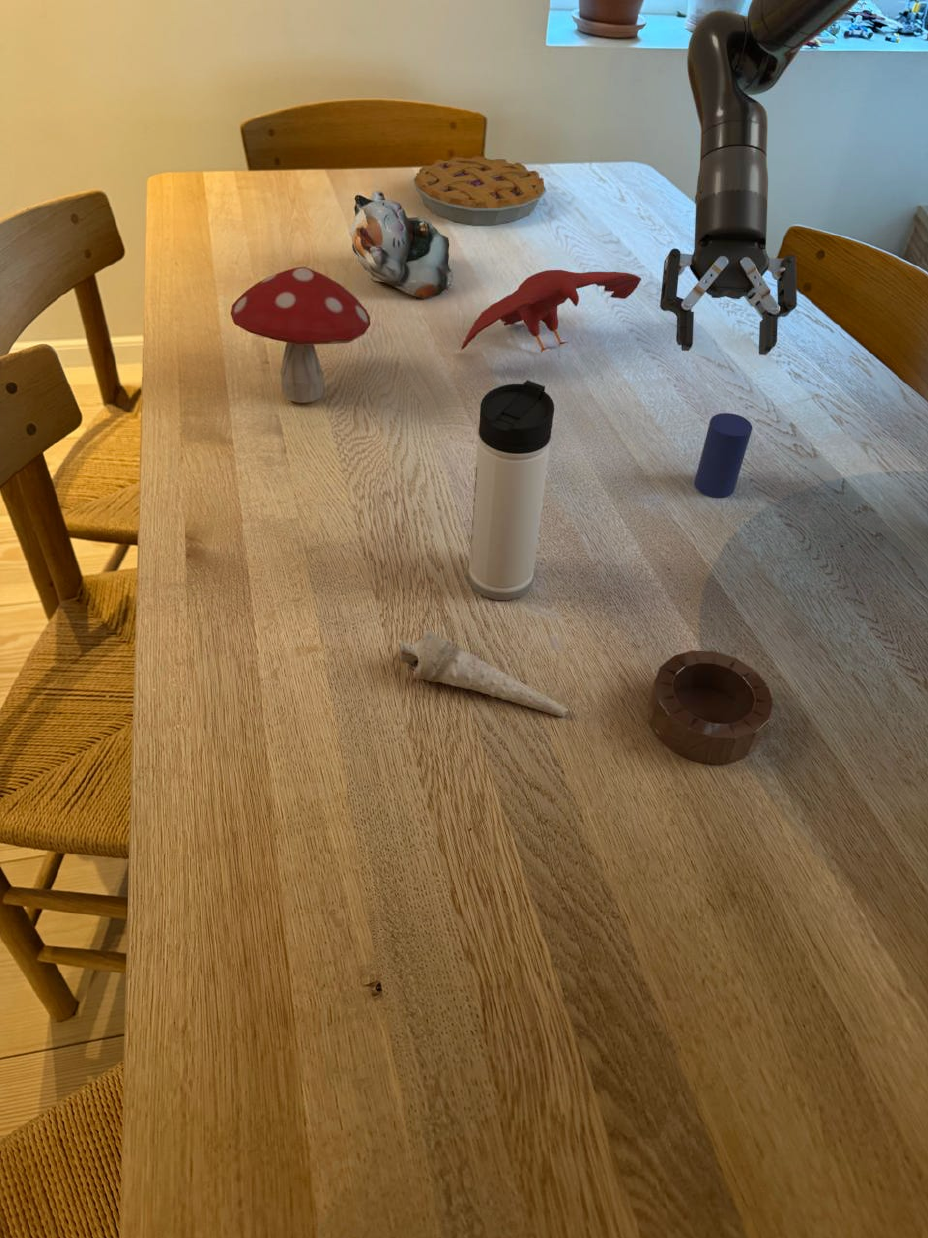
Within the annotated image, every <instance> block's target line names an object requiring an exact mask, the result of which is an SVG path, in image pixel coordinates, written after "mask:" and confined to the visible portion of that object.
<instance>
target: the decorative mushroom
mask: <svg viewBox="0 0 928 1238" xmlns="http://www.w3.org/2000/svg"><path fill="white" fill-rule="evenodd" d="M230 316H231V320H232V322H233V324H234V325H235V326H237V327H239V328H241V329H242V330H244V331H246V332H248V333H251V334H253V335H257V336H261V337H264V338H267V339H270V340H274V341H279V342H284V343H286V344H285V347H284V348H285V349H284V352H283V359H282V362H281V367H280V382H281V383H280V384H281V392H282V396H283V397H285V399H287V400H288V401H291V402H293V403H299V404H307V403H311V402H315V401H318V400H320V398H321V397H323V396H324V393H325V385H324V373H323V369H322V366H321V363H320V361H319V358H318V354H317V350H316V348H315V345H316V346H317V345H318V346H319V345H336V344H337V345H338V344H339V345H341V344H350V343H351V342H353V341H355V340H358V339H359V338H360V337H362V336H364V335H365V334H366V332H367V331H368V330H369V328H370V326H371V316H370V315H369V312H368V311H367V309H366V308H365V306H364V305H363V304H362V303H361V302H360V300H358V298H357V297H356V296H355V295H354V294H353V293H352V292H351V291H350V290H348V289H347V288H346V287H345V286H343V285H341V284H340V283H339V282H337V281H335V280H334V279H331V278H330V277H328V276H326V275H324V274H323V273H320V272H318V271H316V270H314V269H311V268H308V267H304V266H299V267H294V268H290V269H287V270H284V271H280V272H278V273H275V274H273V275H270V276H268V277H266V278H263V279H262V280H259V281H258V282H257V283H255V284H254V285H252V286H251V287H250V288H248V289H246V290H245V292H243V293H242V294H241V295H240V296H239V297H238V298H237V299H236V300H235V301H234V302H233V303H232V304H231V309H230Z"/></svg>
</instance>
